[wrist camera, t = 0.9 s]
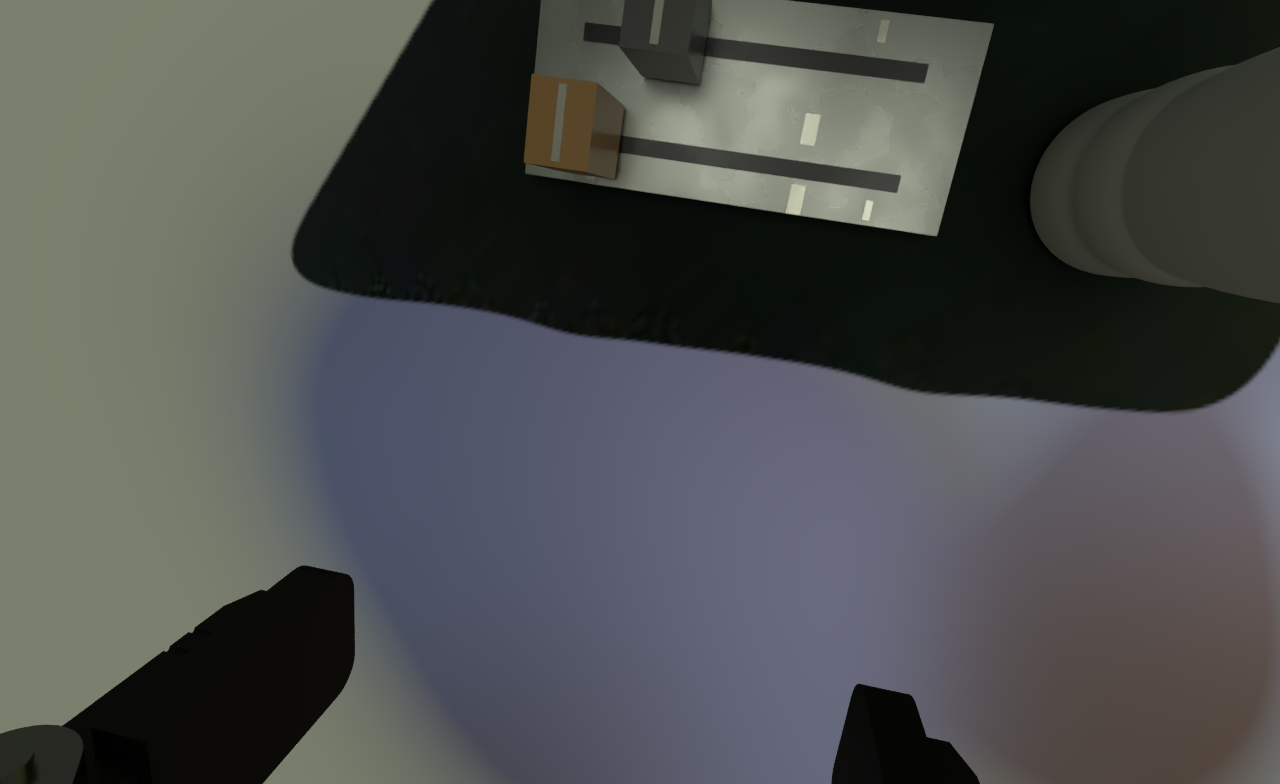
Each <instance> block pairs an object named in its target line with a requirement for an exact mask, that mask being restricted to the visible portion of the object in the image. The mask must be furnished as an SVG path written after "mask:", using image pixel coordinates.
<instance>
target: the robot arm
mask: <svg viewBox="0 0 1280 784" xmlns="http://www.w3.org/2000/svg"><path fill="white" fill-rule="evenodd" d="M354 634H355V626H354V584H353V581H352V578H351V577H350V576H349V575H348V574H344V573H338V572H334V571H329V570H325V569H319V568H315V567H310V566H300V567H298V568H296V569H295V570H293V571H292V572H291V573H289V574H288V575H287V576H285V577H284V578H283V579H282V580H280V581H279V582H278V583H276V584H275V585H274V586H273V587H271V588H270V589H269V590H267V591H264V590H259V591H257V592H255V593H253V594H250V595H248V596H246V597H243V598H241V599H239V600H237V601H234V602H232V603H230V604H227V605H225V606H223V607H222V608H221V609H219V610H218V611H217V612H215V613H214V614H213V615H211V616H210V617H209V618H207V619H206V620H205V621H203V622H202V623H200V624H199V625H198V626H196V627H195V629H194V631H193V633H189V632H188V633H187V634H186V635H184V636H183V637H182V638H180V639H179V640H178V641H176V642H175V643H174V644H172V645H171V646H170V648H169V650H168V651H167V652H165V651H163V652H161V653H160V654H159V655H157V656H156V657H155V658H153V659H152V660H151V661H149V662H148V663H147V664H145V665H144V666H143V667H141V668H140V669H139V670H137V671H136V672H135V673H133V674H132V675H130V676H129V677H128V678H127V679H125V680H124V681H122V682H121V683H120V684H118V685H117V686H116V687H114V688H113V689H112V690H110V691H109V692H108V693H106V694H105V695H104V696H102V697H101V698H99V699H98V700H97V701H95V702H94V703H93V704H91V705H90V706H89V707H88V708H86V709H85V710H83V711H82V712H81V713H79V714H78V715H77V716H75V717H74V718H73V719H71V720H70V721H68V722H67V723H66V724H64V725H63V726H58V725H36V726H30V727H24V728H19V729H15V730H11V731H8V732H5V733H2V734H0V784H263V783H264V781H265V780H266V779H267V778H268V777H269V776H270V774H271V773H272V772H273V771H274V770H275V769H276V767H277V766H278V765H279V764H280V763H281V762H282V760H283V759H284V758H285V757H286V756H287V755H288V754H289V752H290V751H291V750H292V749H293V748H294V747H295V745H296V744H297V743H298V742H299V741H300V740H301V738H302V737H303V736H304V735H305V734H306V733H307V731H308V730H309V729H310V728H311V727H312V726H313V724H314V723H315V722H316V721H317V719H319V717H320V716H321V715H322V714H323V713H324V712H325V710H326V709H327V708H328V707H329V706H330V705H331V704H332V702H333V701H334V700H335V699H336V698H337V697H338V695H339V694H340V693H341V691H342V689H343V688H344V686H345V684H346V683H347V680H348V678H349V676H350V673H351V670H352V667H353V663H354V656H355V635H354ZM832 784H980V783H979V780H978V778H977V776H976V775H975V773H974V772H973V771H972V770H971V769H970V767H969V766H968V765H967V763H966V762H965V761H964V760H963V759H962V757H961V756H960V755H959V754H958V753H957V751H956V750H955V749H954V747H953V746H952V745H951V744H950V742H946V741H942V740H937V739H932V738H928V737H926V734H925V731H924V728H923V725H922V721H921V719H920V715H919V712H918V709H917V706H916V703H915V701H914V699H913V697H912V696H911V695H909V694H904V693H900V692H895V691H890V690H886V689H881V688H876V687H871V686H867V685H862V684H857V685H856V686H855V688H854V690H853V693H852V696H851V700H850V704H849V708H848V712H847V716H846V720H845V724H844V727H843V731H842V736H841V739H840V743H839V747H838V751H837V755H836V759H835V763H834V768H833V774H832Z"/></svg>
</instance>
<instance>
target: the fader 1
mask: <svg viewBox="0 0 1280 784" xmlns="http://www.w3.org/2000/svg"><path fill="white" fill-rule="evenodd" d="M623 113H624V105H623V104H622V103H621V102H619V101H618V100H617V99H616V98H615V97H614V96H612V95H611V94H610V93H609V92H608V91H607V90H606V89H604V88H603V87H602V86H601V85H600V84H599V83H598V82H590V81H583V80H575V79H568V78H560V77H553V76H545V75H538V74H532V77H531V88H530V99H529V110H528V121H527V132H526V143H525V154H524V163H528V164H532V165H536V166H540V167H544V168H548V169H553V170H557V171H561V172H567V173H574V174H580V175H587V176H594V177H600V178H607V179H613V180H615V174H616V167H617V159H618V151H619V144H620V136H621V128H622V121H623Z"/></svg>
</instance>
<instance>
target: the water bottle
mask: <svg viewBox="0 0 1280 784" xmlns="http://www.w3.org/2000/svg"><path fill="white" fill-rule="evenodd" d="M1030 209H1031V216H1032V220H1033V223H1034V226H1035V229H1036V232H1037V234H1038V235H1039V237H1040V239H1041V241H1042V242H1043V243H1044V245H1045V246H1046V247H1047V248H1048V249H1049V250H1050V252H1051V253H1052V254H1054V255H1055V256H1056V257H1057V258H1059V259H1060V260H1062V261H1063V262H1064V263H1066V264H1068V265H1070V266H1072V267H1074V268H1077V269H1079V270H1082V271H1086V272H1089V273H1093V274H1098V275H1105V276H1112V277H1124V278H1138V279H1141V280H1144V281H1148V282H1153V283H1158V284H1164V285H1171V286H1181V287H1208V288H1212V289H1216V290H1219V291H1223V292H1227V293H1232V294H1236V295H1240V296H1245V297H1250V298H1255V299H1260V300H1265V301H1270V302H1275V303H1280V47H1279V48H1276V49H1274V50H1271V51H1269V52H1266V53H1264V54H1261V55H1258V56H1256V57H1254V58H1251V59H1249V60H1246V61H1244V62H1242V63H1239V64H1237V65H1232V66H1225V67H1219V68H1214V69H1210V70H1206V71H1202V72H1198V73H1195V74H1191V75H1188V76H1185V77H1182V78H1179V79H1177V80H1174V81H1171V82H1169V83H1167V84H1164V85H1162V86H1160V87H1158V88H1154V89H1149V90H1144V91H1140V92H1136V93H1132V94H1128V95H1125V96H1122V97H1118V98H1115V99H1113V100H1110V101H1107V102H1105V103H1102V104H1100V105H1098V106H1096V107H1094V108H1092V109H1090V110H1088V111H1087V112H1085V113H1083V114H1082V115H1080V116H1079V117H1077V118H1076V119H1075V120H1073V121H1072V122H1071V123H1070V124H1069V125H1067V126H1066V127H1065V128H1064V129H1063V130H1062V131H1061V132H1060V133H1059V134H1058V135H1057V136H1056V137H1055V139H1054V140H1053V141H1052V142H1051V143H1050V145H1049V146H1048V148H1047V149H1046V151H1045V152H1044V154H1043V156H1042V157H1041V159H1040V161H1039V164H1038V166H1037V168H1036V171H1035V173H1034V177H1033V181H1032V185H1031V192H1030Z"/></svg>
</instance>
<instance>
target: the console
mask: <svg viewBox="0 0 1280 784" xmlns="http://www.w3.org/2000/svg"><path fill="white" fill-rule="evenodd" d="M624 2H625V0H541V9H540V19H539V30H538V41H537V52H536V62H535V73H534V74H538V75H545V76H553V77H560V78H568V79H575V80H583V81H590V82H598V83H599V84H600V85H601V86H602V87H603V88H604V89H606V90H607V91H608V92H609V93H610V94H611V95H612V96H614V97H615V98H616V99H617V100H618V101H619V102H621V103H622V104H623V105H624V113H623V121H622V128H621V136H620V144H619V151H618V159H617V167H616V174H615V180H613V179H607V178H600V177H594V176H587V175H580V174H574V173H567V172H561V171H557V170H553V169H548V168H544V167H540V166H536V165H532V164H528V163H526V170H525V174H531V175H536V176H542V177H548V178H555V179H561V180H568V181H574V182H581V183H587V184H594V185H600V186H607V187H614V188H620V189H627V190H633V191H640V192H646V193H653V194H659V195H666V196H672V197H679V198H686V199H692V200H699V201H705V202H712V203H718V204H725V205H731V206H738V207H744V208H751V209H758V210H764V211H771V212H777V213H784V214H790V215H797V216H803V217H810V218H817V219H823V220H830V221H836V222H843V223H849V224H856V225H862V226H869V227H875V228H882V229H889V230H895V231H902V232H908V233H915V234H921V235H929V236H937V234H938V230H939V226H940V223H941V219H942V215H943V212H944V208H945V204H946V200H947V197H948V193H949V189H950V186H951V182H952V178H953V175H954V171H955V167H956V163H957V160H958V156H959V152H960V149H961V145H962V141H963V137H964V134H965V130H966V126H967V123H968V119H969V115H970V112H971V108H972V104H973V100H974V97H975V93H976V89H977V86H978V82H979V78H980V75H981V71H982V67H983V63H984V60H985V56H986V52H987V49H988V45H989V41H990V38H991V34H992V30H993V26H994V24H990V23H981V22H973V21H964V20H955V19H946V18H937V17H929V16H920V15H911V14H902V13H893V12H884V11H876V10H867V9H858V8H849V7H840V6H832V5H823V4H814V3H805V2H796V1H788V0H712V8H711V14H710V20H709V27H708V33H707V39H706V46H705V52H704V58H703V64H702V71H701V77H700V83H699V84H693V83H685V82H678V81H670V80H662V79H655V78H647V77H642V76H641V74H640V73H639V72H638V71H637V69H636V68H635V67H634V65H633V64H632V63H631V62H630V60H629V59H628V58H627V57H626V55H625V54H624V53H623V51H622V50H621V49H620V48H619V42H620V34H621V26H622V18H623V10H624Z"/></svg>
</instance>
